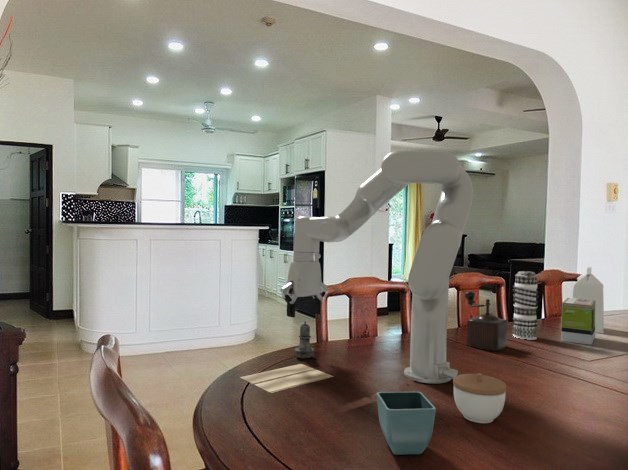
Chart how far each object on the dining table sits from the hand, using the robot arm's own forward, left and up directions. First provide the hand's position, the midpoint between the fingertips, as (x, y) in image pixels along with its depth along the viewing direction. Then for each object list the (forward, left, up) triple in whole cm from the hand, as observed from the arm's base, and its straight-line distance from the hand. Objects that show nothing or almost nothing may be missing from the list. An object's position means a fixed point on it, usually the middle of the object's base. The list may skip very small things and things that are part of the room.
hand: (303, 315), depth 137 cm
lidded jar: (-54, -4, -14) cm, 56 cm away
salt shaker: (0, 0, -14) cm, 14 cm away
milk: (-34, -126, -14) cm, 132 cm away
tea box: (-39, -102, -14) cm, 111 cm away
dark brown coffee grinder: (-21, -63, -14) cm, 68 cm away
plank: (-15, +15, -14) cm, 25 cm away
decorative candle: (-25, -88, -14) cm, 93 cm away
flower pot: (-53, +20, -14) cm, 59 cm away
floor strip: (-8, +15, -14) cm, 22 cm away
